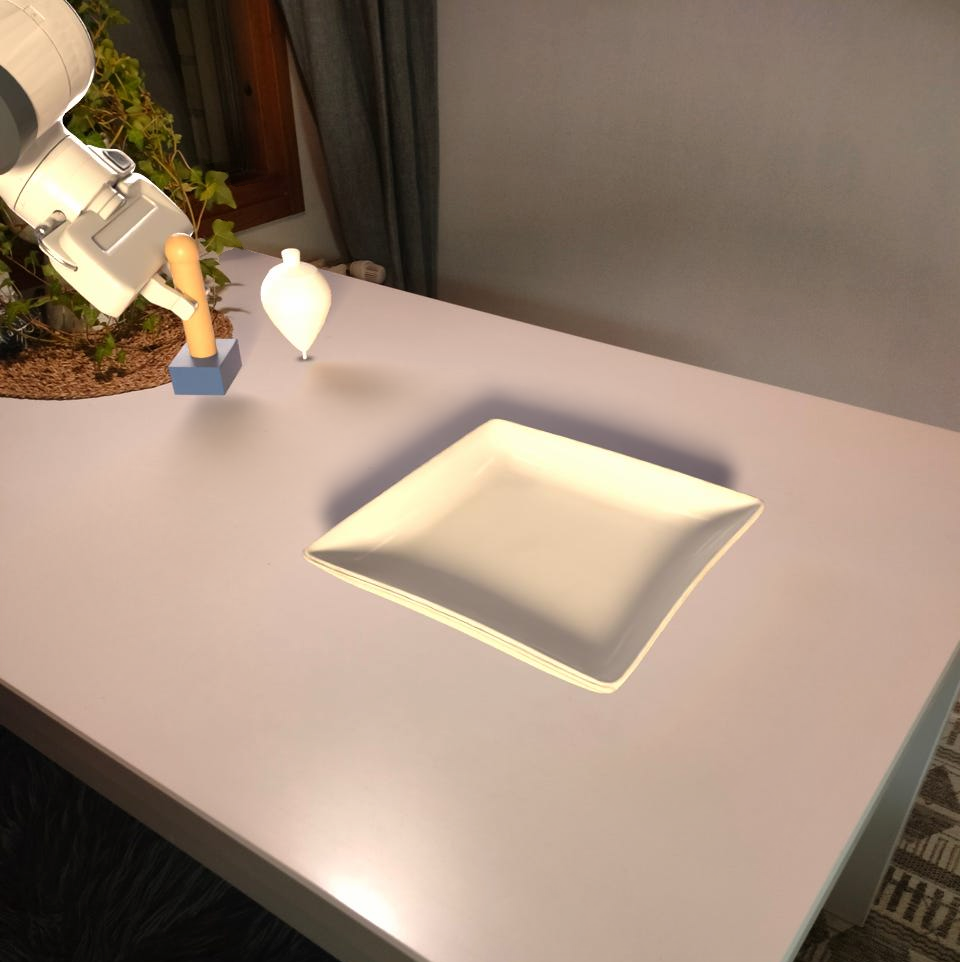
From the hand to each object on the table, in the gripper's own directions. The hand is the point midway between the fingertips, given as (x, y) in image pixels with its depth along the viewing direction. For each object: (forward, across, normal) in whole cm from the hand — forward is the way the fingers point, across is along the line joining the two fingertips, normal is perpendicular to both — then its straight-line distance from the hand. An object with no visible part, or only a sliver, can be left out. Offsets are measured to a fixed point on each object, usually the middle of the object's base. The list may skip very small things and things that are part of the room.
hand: (199, 305), depth 91 cm
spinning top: (+12, +11, +2) cm, 16 cm away
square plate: (+31, -28, -17) cm, 45 cm away
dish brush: (+5, 0, +6) cm, 8 cm away
